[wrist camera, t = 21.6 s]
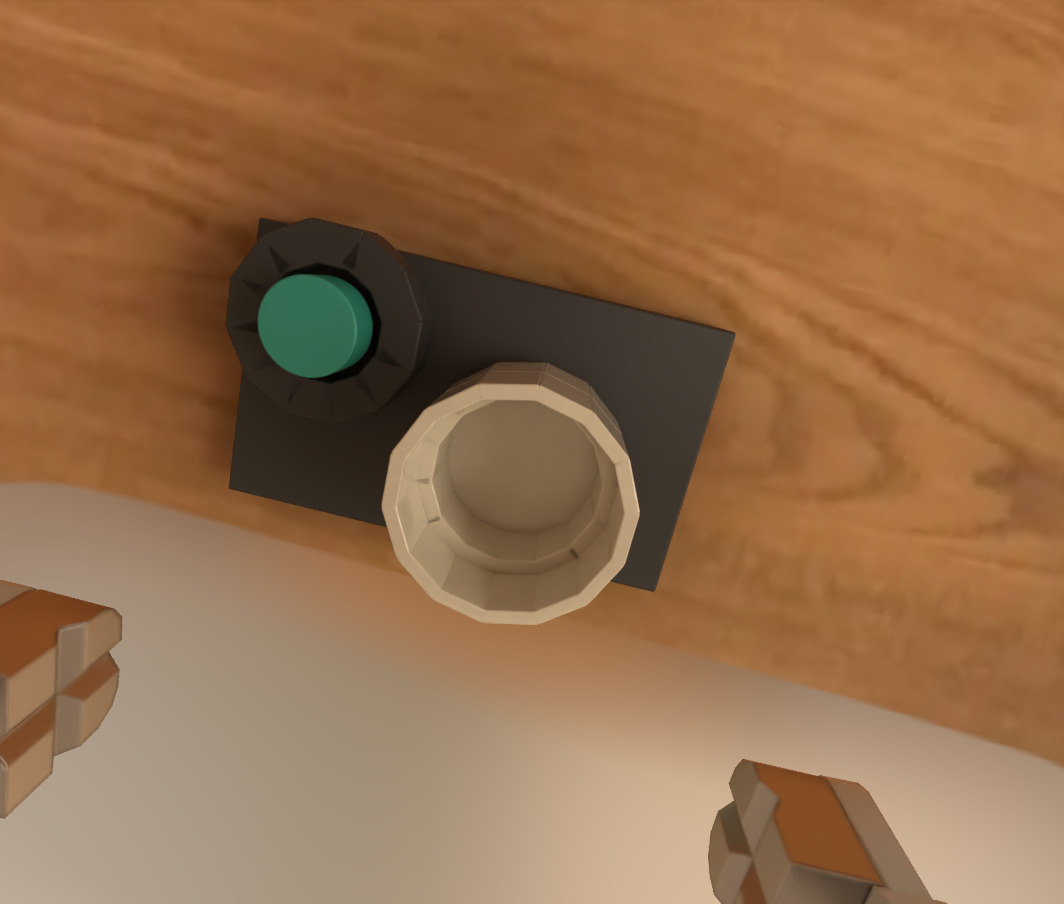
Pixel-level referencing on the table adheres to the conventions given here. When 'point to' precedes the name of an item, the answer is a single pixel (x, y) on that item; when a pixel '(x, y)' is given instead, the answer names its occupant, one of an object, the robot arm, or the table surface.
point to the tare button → (314, 324)
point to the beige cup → (512, 495)
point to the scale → (456, 375)
